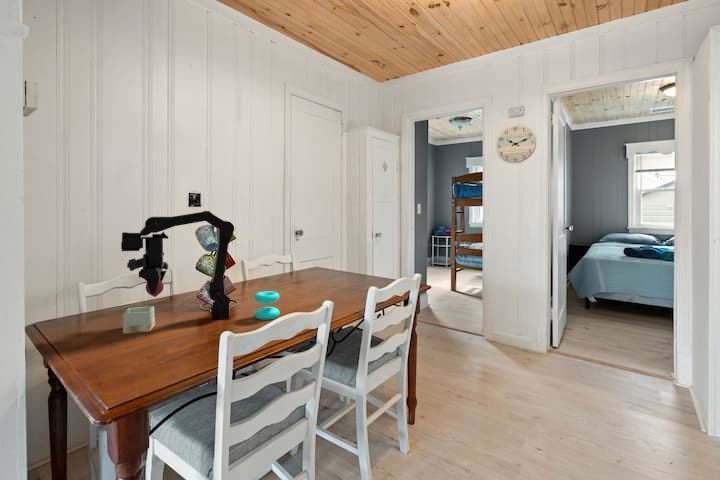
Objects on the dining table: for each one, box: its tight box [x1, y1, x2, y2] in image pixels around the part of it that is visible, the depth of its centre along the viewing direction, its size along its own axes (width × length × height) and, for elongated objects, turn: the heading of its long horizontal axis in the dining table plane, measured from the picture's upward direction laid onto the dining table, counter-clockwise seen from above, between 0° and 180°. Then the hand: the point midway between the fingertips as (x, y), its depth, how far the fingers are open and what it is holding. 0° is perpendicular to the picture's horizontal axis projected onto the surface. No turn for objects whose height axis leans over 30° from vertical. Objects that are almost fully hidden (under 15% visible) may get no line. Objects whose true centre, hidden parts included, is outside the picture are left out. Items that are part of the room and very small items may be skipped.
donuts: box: [254, 290, 280, 321], centre depth 154 cm, size 10×10×10 cm
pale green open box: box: [122, 305, 156, 328], centre depth 137 cm, size 8×8×4 cm
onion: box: [145, 280, 164, 298], centre depth 140 cm, size 6×6×8 cm
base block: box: [122, 317, 156, 334], centre depth 138 cm, size 8×8×3 cm
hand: (154, 292), depth 140 cm, fingers closed on onion, 6 cm apart
